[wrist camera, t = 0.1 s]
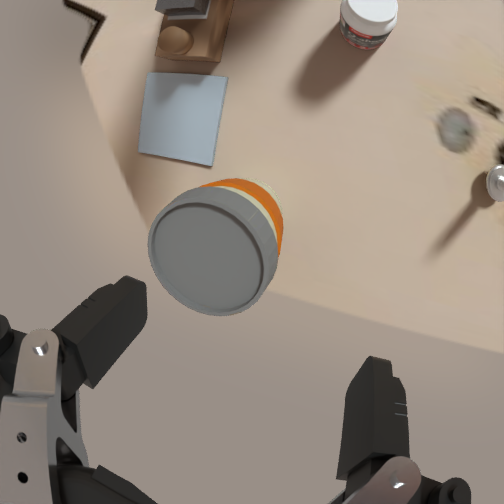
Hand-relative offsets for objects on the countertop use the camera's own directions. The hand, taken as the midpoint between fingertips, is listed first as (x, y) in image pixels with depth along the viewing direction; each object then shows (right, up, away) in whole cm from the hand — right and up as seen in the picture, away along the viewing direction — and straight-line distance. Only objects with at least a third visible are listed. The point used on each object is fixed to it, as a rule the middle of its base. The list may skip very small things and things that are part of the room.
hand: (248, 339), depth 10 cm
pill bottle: (+13, +29, +16) cm, 35 cm away
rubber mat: (-10, +21, +26) cm, 35 cm away
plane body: (-5, +36, +17) cm, 41 cm away
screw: (+32, +12, +18) cm, 39 cm away
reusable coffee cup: (0, +8, +30) cm, 31 cm away
